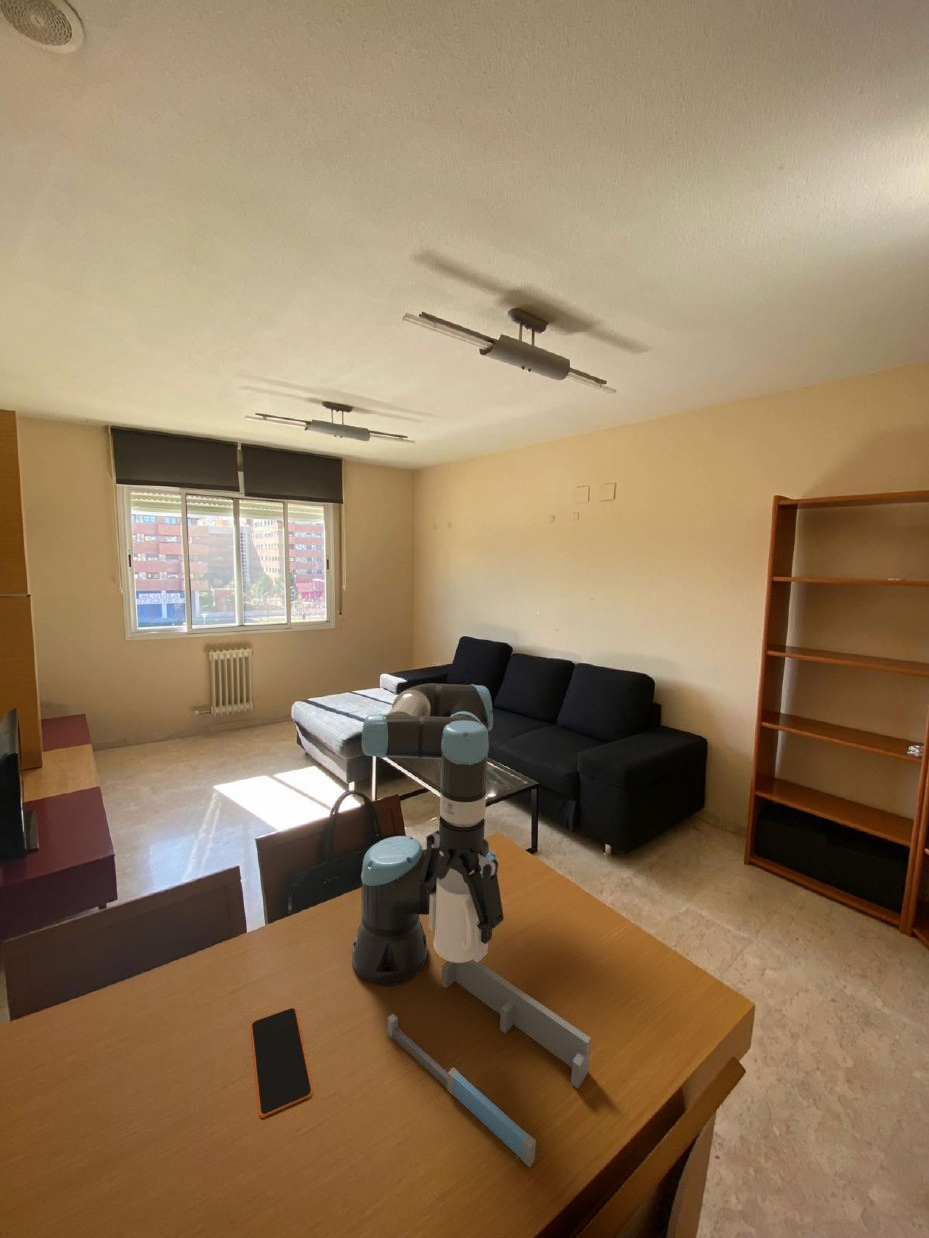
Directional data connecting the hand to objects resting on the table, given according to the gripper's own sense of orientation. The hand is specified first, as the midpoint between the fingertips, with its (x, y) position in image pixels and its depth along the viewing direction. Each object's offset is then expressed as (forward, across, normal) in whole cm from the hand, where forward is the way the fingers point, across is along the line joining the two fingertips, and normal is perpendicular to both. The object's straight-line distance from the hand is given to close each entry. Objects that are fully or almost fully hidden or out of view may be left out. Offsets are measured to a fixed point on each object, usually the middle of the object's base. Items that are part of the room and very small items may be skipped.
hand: (457, 940), depth 86 cm
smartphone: (+17, -17, -23) cm, 33 cm away
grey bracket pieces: (+16, +7, 0) cm, 17 cm away
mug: (+2, 0, 0) cm, 2 cm away
